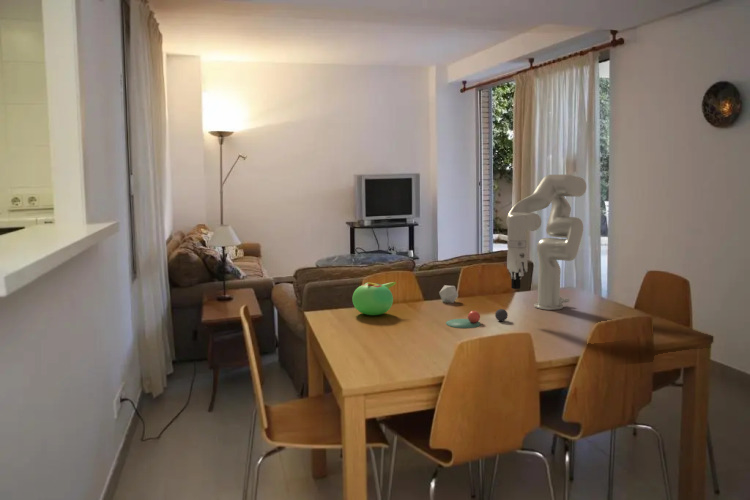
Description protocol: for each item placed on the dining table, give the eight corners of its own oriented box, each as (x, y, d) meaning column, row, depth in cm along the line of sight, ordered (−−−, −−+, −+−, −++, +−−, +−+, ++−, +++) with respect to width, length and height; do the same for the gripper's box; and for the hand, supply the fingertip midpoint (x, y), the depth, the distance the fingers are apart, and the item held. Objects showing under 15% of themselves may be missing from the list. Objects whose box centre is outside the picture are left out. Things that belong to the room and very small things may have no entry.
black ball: (492, 309, 237) (494, 321, 238) (497, 312, 232) (499, 324, 233) (502, 306, 238) (505, 317, 239) (508, 308, 233) (510, 320, 234)
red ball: (467, 308, 234) (464, 320, 235) (471, 311, 230) (469, 323, 230) (478, 310, 236) (475, 322, 236) (483, 313, 231) (480, 325, 231)
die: (460, 302, 273) (452, 284, 277) (461, 297, 266) (452, 279, 269) (444, 308, 273) (436, 291, 277) (445, 303, 265) (436, 285, 269)
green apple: (346, 316, 246) (345, 283, 244) (364, 308, 261) (364, 276, 259) (383, 321, 238) (382, 286, 236) (400, 312, 253) (400, 279, 251)
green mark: (472, 318, 240) (472, 317, 240) (486, 326, 227) (486, 326, 227) (441, 320, 237) (441, 320, 237) (453, 329, 224) (453, 328, 224)
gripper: (534, 246, 226) (532, 291, 229) (516, 242, 241) (515, 284, 243) (516, 247, 225) (515, 292, 227) (500, 242, 239) (499, 285, 242)
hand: (515, 288), depth 235 cm, fingers closed
